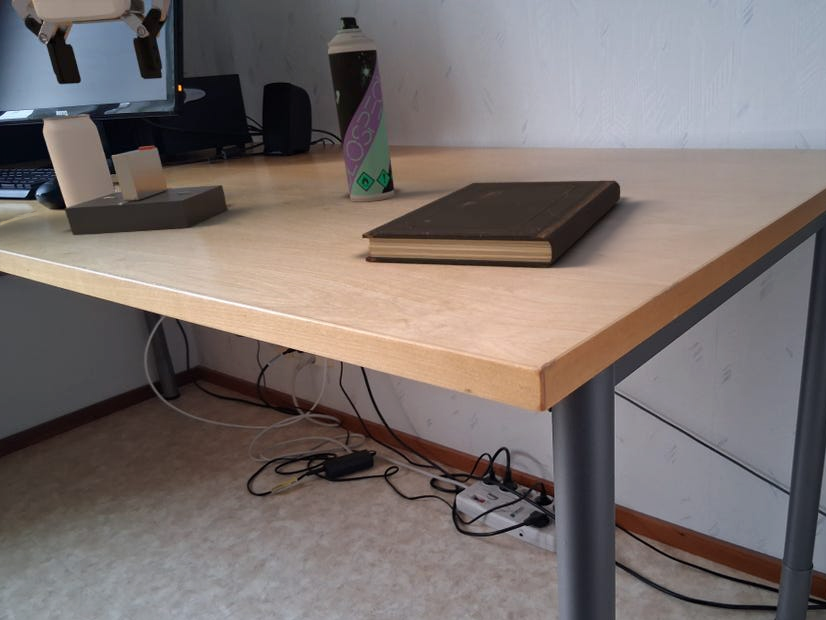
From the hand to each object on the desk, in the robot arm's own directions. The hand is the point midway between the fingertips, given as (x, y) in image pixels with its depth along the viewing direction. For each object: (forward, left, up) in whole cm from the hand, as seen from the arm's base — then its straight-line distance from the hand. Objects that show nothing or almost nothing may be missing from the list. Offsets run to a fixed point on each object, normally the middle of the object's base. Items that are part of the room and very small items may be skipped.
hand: (111, 81), depth 76 cm
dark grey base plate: (+1, 0, -16) cm, 16 cm away
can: (-16, +14, -16) cm, 27 cm away
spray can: (+26, +7, -16) cm, 31 cm away
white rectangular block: (+1, 0, -13) cm, 12 cm away
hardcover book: (+44, -15, -16) cm, 49 cm away
